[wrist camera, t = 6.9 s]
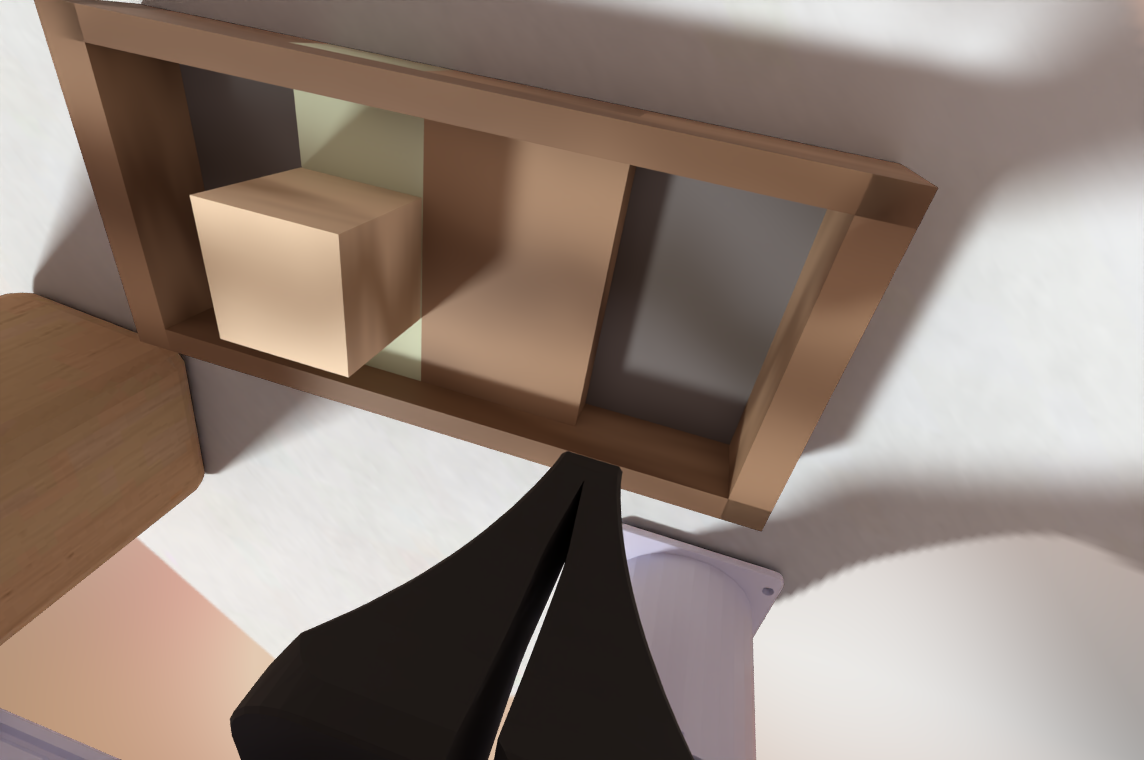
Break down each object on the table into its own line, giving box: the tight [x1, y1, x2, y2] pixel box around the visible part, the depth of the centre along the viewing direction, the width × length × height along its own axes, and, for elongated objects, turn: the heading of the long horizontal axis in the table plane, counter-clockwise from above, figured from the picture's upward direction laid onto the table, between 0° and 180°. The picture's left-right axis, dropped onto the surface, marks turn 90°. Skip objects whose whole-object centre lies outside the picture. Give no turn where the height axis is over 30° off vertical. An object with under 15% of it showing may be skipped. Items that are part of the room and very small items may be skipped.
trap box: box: [34, 0, 938, 531], centre depth 19 cm, size 12×26×4 cm, turn 80°
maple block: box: [190, 167, 422, 377], centre depth 17 cm, size 4×4×4 cm
